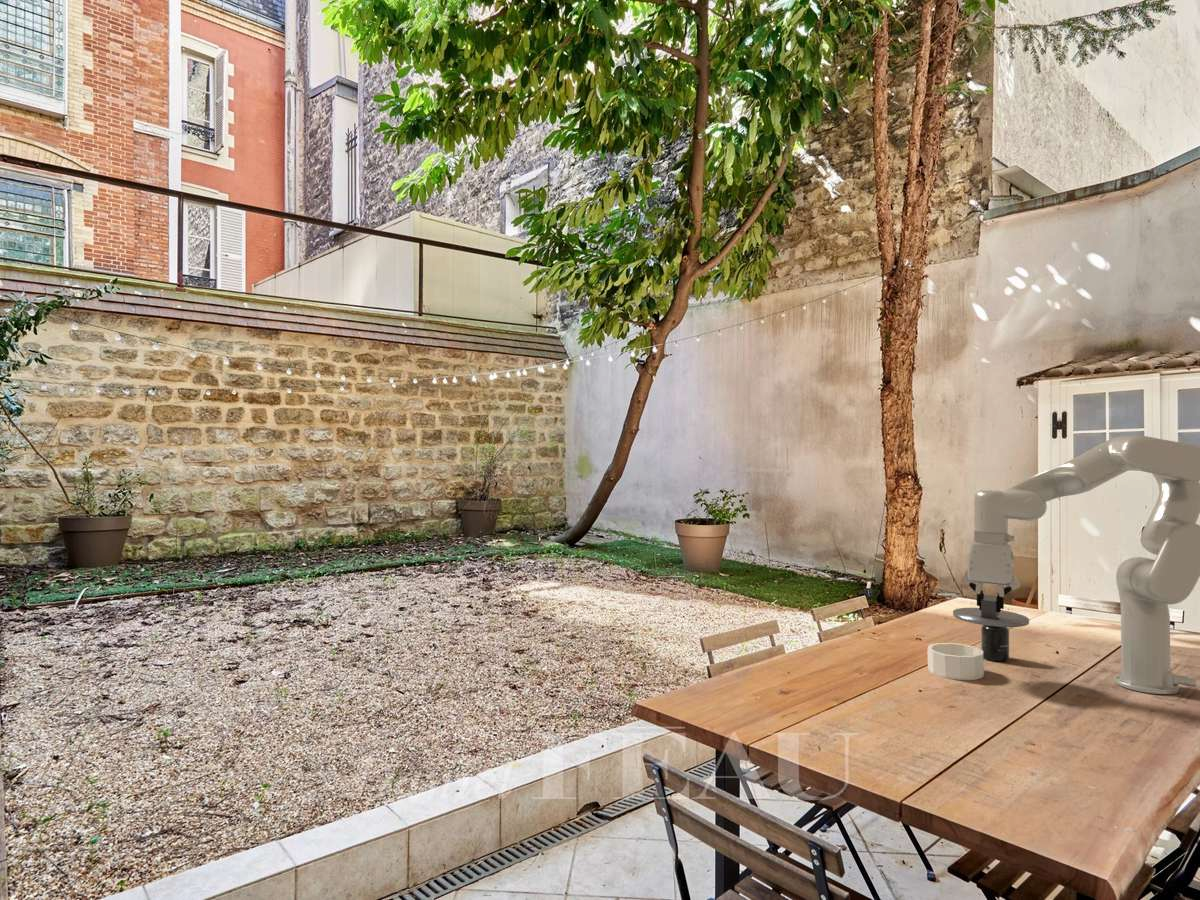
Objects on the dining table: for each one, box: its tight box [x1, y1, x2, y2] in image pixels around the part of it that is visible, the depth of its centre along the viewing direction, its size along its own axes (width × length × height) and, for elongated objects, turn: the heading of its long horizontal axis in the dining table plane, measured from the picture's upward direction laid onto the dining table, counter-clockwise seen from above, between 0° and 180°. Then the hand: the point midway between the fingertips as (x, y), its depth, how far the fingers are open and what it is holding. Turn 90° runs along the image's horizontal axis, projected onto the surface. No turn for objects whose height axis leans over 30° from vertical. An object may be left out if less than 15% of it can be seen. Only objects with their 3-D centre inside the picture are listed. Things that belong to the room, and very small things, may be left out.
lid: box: [952, 593, 1030, 628], centre depth 176 cm, size 17×17×5 cm
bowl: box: [926, 642, 985, 681], centre depth 182 cm, size 13×13×6 cm
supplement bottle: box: [980, 625, 1010, 663], centre depth 193 cm, size 7×7×12 cm
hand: (990, 609), depth 176 cm, fingers closed on lid, 3 cm apart
